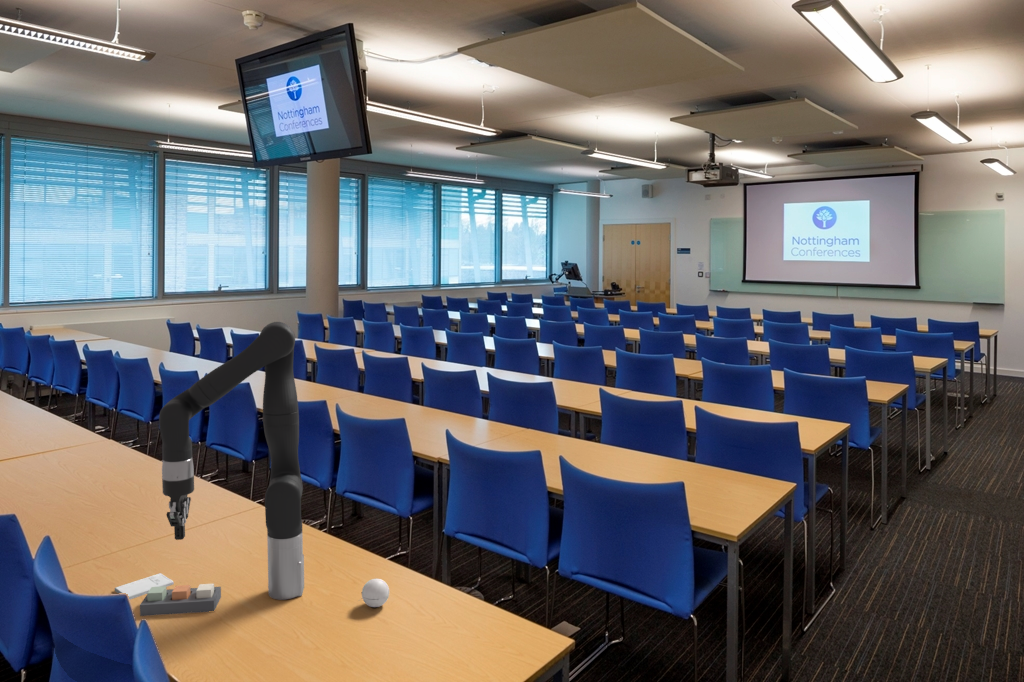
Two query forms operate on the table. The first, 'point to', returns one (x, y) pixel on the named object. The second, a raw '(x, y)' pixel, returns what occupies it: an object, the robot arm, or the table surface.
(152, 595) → the sage button
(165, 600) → the keypad
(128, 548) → the table surface
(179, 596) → the terracotta button
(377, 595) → the white ovoid
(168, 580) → the external hard drive
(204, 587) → the cream button
